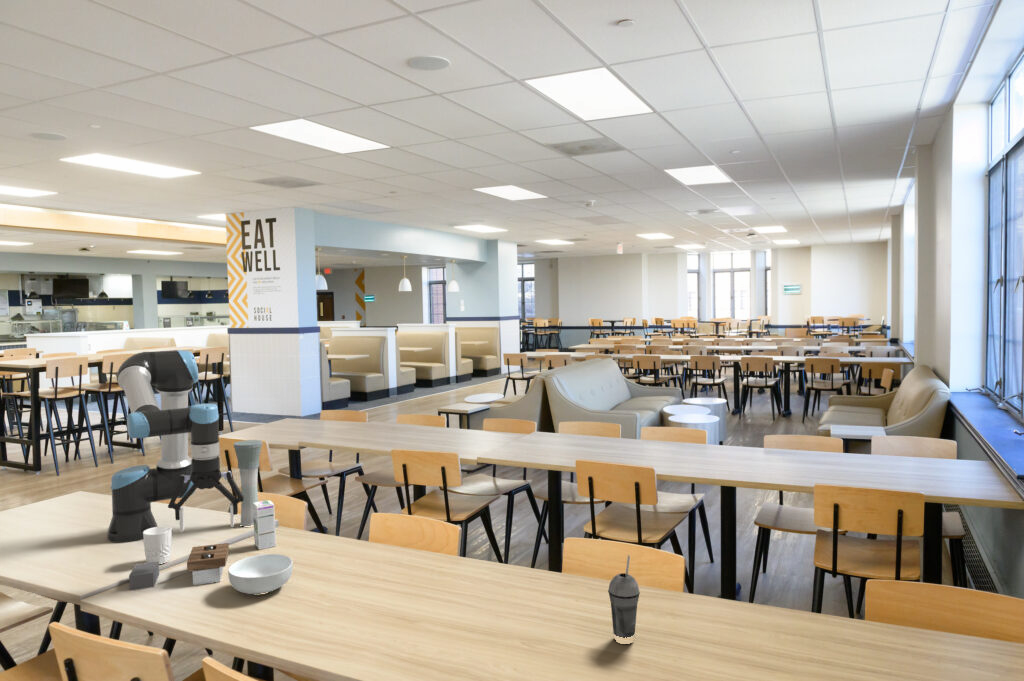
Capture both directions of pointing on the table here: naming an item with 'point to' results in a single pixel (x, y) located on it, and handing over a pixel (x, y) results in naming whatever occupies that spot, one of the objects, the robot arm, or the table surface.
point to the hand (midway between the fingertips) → (207, 528)
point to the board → (216, 560)
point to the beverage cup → (624, 603)
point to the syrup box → (264, 524)
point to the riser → (144, 575)
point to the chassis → (207, 573)
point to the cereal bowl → (260, 573)
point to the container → (248, 476)
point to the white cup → (158, 544)
